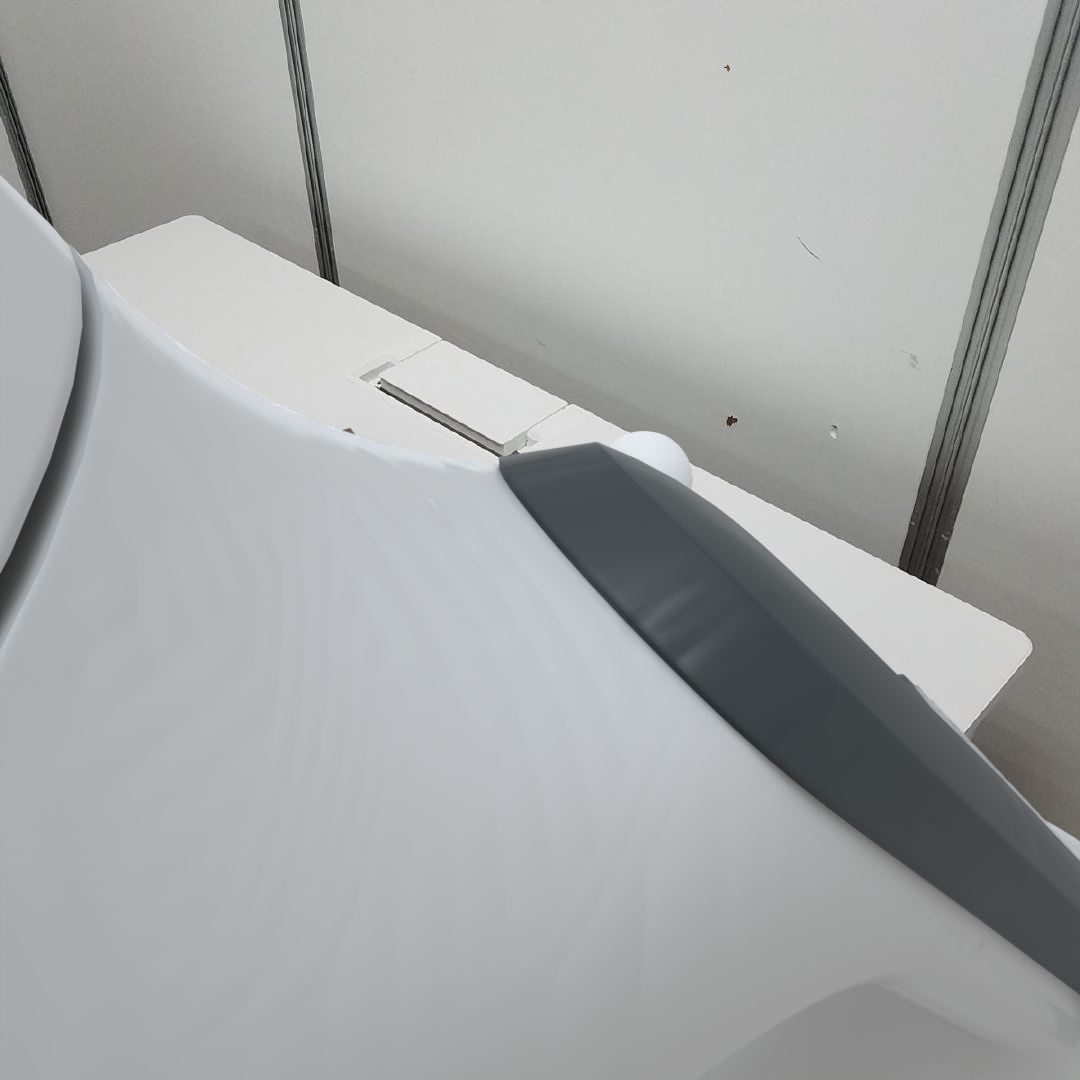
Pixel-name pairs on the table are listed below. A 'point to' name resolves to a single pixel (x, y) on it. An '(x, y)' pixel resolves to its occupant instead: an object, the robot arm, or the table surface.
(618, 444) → the lightbulb
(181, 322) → the table surface
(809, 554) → the table surface
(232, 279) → the table surface
